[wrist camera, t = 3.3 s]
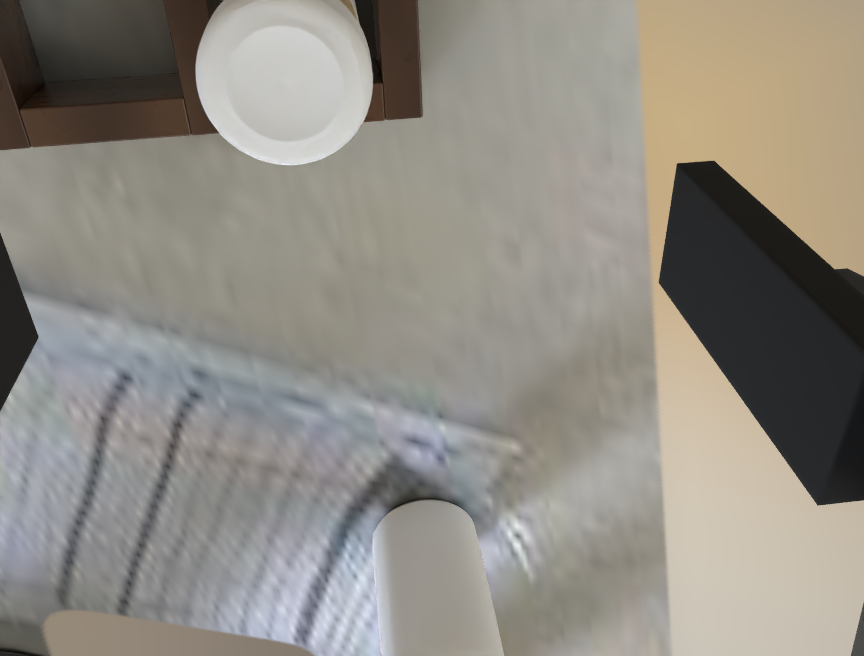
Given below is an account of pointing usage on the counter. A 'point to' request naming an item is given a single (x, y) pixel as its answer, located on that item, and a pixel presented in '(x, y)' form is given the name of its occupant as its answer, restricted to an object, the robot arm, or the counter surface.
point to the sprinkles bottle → (285, 77)
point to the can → (432, 584)
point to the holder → (171, 83)
